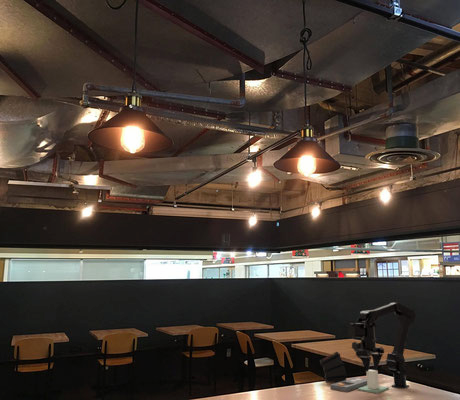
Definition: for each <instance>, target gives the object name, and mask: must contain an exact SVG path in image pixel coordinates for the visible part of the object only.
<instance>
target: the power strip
mask: <svg viewBox="0 0 460 400" xmlns="http://www.w3.org/2000/svg"><path fill="white" fill-rule="evenodd" d="M364 386H367V378H361V377H352V378H349V379H346V380H345V381H341V382H334V383H331V384H330V390H333V391H338V392H339V391H341V392H345V393H346V392H351V391H353V390H358V388H361V387H364Z"/></svg>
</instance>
